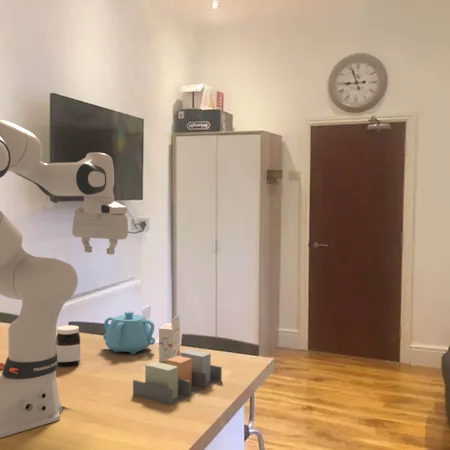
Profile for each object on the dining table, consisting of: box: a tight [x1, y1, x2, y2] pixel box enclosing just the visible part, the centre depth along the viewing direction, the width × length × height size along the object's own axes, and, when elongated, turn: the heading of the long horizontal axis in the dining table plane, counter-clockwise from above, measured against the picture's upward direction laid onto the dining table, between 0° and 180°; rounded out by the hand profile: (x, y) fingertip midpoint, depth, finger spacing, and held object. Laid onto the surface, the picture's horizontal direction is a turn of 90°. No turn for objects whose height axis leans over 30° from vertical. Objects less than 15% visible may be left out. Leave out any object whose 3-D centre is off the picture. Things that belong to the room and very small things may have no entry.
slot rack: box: [132, 364, 223, 406], centre depth 151 cm, size 23×13×5 cm, turn 147°
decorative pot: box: [103, 311, 156, 355], centre depth 192 cm, size 16×16×14 cm
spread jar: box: [55, 324, 81, 367], centre depth 176 cm, size 12×11×12 cm
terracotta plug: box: [166, 355, 192, 387], centre depth 151 cm, size 5×5×8 cm
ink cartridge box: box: [158, 314, 181, 363], centre depth 180 cm, size 9×5×15 cm, turn 168°
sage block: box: [144, 361, 178, 399], centre depth 145 cm, size 4×8×8 cm, turn 57°
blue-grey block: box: [179, 348, 212, 382], centre depth 157 cm, size 4×8×8 cm, turn 57°
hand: (99, 253), depth 163 cm, fingers open, 8 cm apart
